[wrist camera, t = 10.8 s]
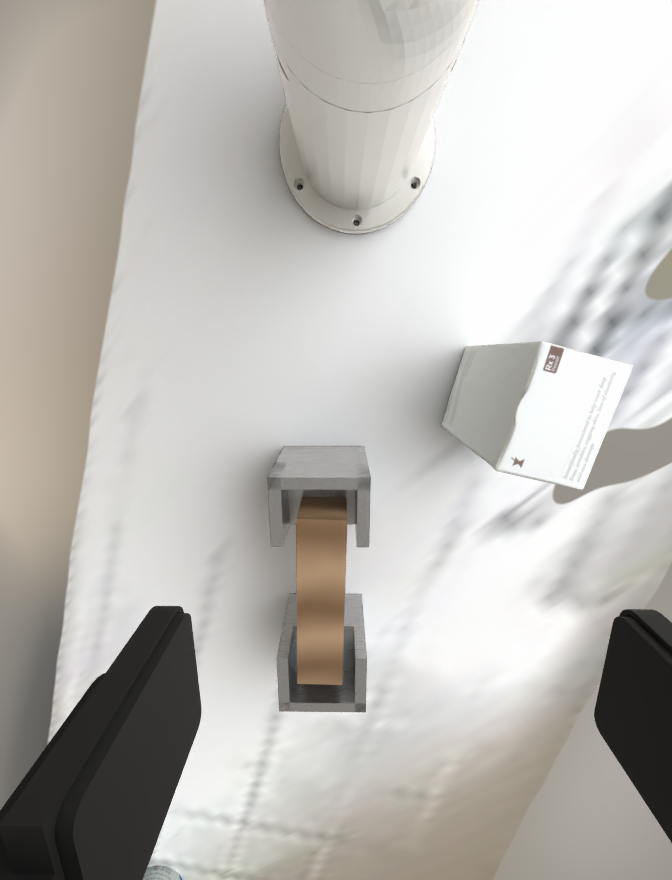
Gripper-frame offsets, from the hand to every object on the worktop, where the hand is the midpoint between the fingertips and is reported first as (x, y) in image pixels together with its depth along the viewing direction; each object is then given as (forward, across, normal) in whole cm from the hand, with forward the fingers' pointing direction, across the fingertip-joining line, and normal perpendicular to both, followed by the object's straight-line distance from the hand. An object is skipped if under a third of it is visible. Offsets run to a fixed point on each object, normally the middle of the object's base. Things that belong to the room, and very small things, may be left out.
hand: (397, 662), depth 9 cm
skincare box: (+31, -12, -2) cm, 33 cm away
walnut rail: (+25, +3, +15) cm, 29 cm away
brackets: (+30, +3, +15) cm, 34 cm away
